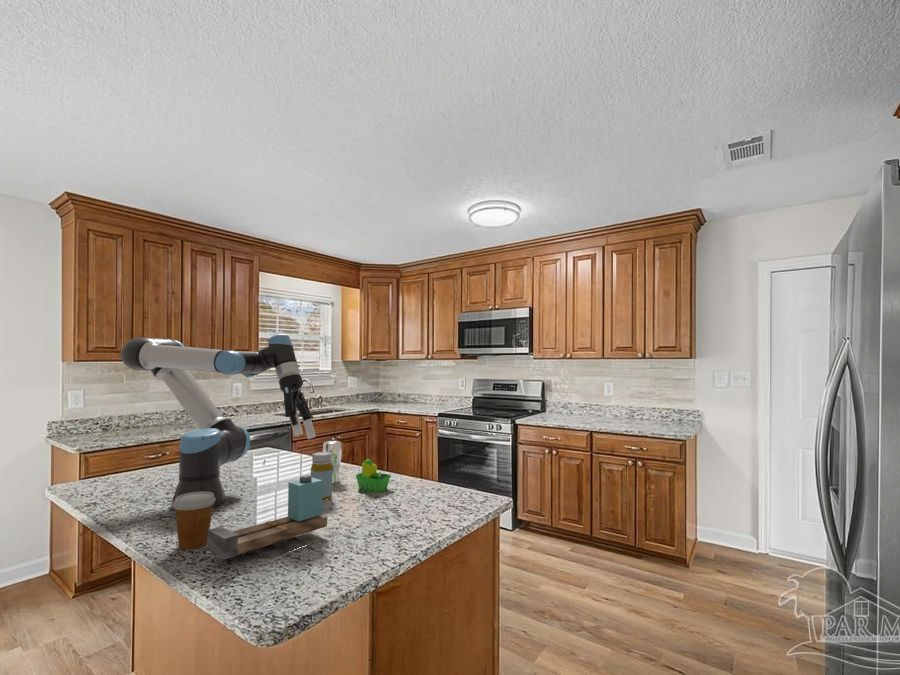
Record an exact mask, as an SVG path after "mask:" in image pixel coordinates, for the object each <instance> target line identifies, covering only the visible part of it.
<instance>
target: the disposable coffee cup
mask: <svg viewBox="0 0 900 675" xmlns="http://www.w3.org/2000/svg"><path fill="white" fill-rule="evenodd" d="M215 500H216V498H215V497H214V494H213V493H211V492H192V493H187V494H183V495H180V496H178V497H176V498H175V501H174V503H173V506H174V508H175V510H174V513H175V514H174V515H175V523H176V531H177V541H178V542H177V543H178V548H179V549H180V550H195V549H199V548H202V547H204V546H207V539H208V530H209V529H211V528H210V527H211V522H212V516H213V509H214V507H213V504H214V501H215Z"/></svg>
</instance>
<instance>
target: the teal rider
mask: <svg viewBox="0 0 900 675" xmlns="http://www.w3.org/2000/svg"><path fill="white" fill-rule="evenodd" d="M287 487H288V490H287V491H288V494H287V499H288V500H287V516H288V518H291V519H293V520H296V521H302V520H305V519H309V518H312V517H316V516H319V515H323V501H322V480H319V479H316V478H312V476H311V475H309V474H307V475H301V476H299V479H298V480H292V481H289V482H288V486H287Z"/></svg>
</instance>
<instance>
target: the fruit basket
mask: <svg viewBox="0 0 900 675" xmlns="http://www.w3.org/2000/svg"><path fill="white" fill-rule="evenodd" d="M361 468H362V469H361V472H360V473H357V474H355V479H356V481H357V485H358V489H360V490H364V491H368V492H373V491H374V493H379V492H382V491H383V492H384V491H385V490H387V489H388V486H389V482H390V479H391V477H392V475H391V474H386V473H381V471H379V472H377V469H378V466H377V464H376V463H374V462H372V460H371V459H370V458H367V459H365V460H363V462H362V464H361Z"/></svg>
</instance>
